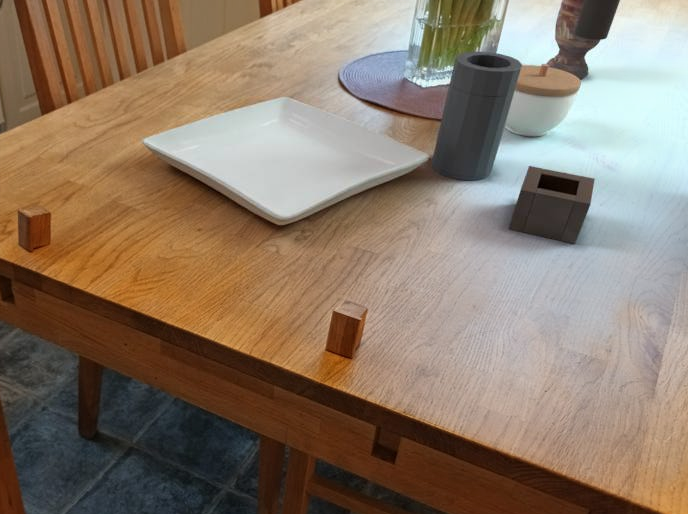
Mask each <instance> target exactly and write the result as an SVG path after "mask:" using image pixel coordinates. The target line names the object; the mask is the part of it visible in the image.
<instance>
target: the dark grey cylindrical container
mask: <svg viewBox="0 0 688 514" xmlns="http://www.w3.org/2000/svg"><path fill="white" fill-rule="evenodd" d="M522 66H523V64H522V63H521V61H520V60H518V59H516V58H515V57H512V56H510V55H506V54H502V53H497V52H489V51H467V52H463V53H459V54H457V56H456V57H455V59H454V64H453V67H452V72H451V77H450V81H449V85H448V89H447V93H446V98H445V103H444V106H443V111H442V117H441V120H440V125H439V129H438V133H437V138H436V143H435V146H434V151H433V155H432V162H431V167H432V168H433V169H434V171H435V172H437V173H438V174H439V175H443V176H445V177H447V178H450V179H455V180H461V181H480V180H484V179H486V178H489V176H490V175H491V174H492V171H493V168H494V165H495V161H496V159H497V154H498V150H499V147H500V144H501V140H502V137H503V134H504V130H505V123H506V120H507V116H508V113H509V109H510V106H511V102H512V99H513V95H514V92H515V88H516V85H517V81H518V78H519V74H520V71H521V67H522Z"/></svg>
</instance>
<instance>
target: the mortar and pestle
mask: <svg viewBox="0 0 688 514" xmlns="http://www.w3.org/2000/svg"><path fill="white" fill-rule="evenodd" d="M584 1H585V0H561V3H560V8H559V10H558V13H557V18H556V20H555V21H556V22H555V29H554V39H555V42H556V45H557V47H558V49H559V50H558V52H557V54H556V55H555V56H554V57H551V58H550V59H549V60H547V62H546V63H545V64H548V65H549V67H550V68H555V69H559V70H563V71H566V72H568V73H571V74H573V75H575V76H576V77H578V78H579V79H580V80H581V79H584V78H586V77H587V76H588V75H589V66H588V63H587V61H586V58H585V57H586V55H587V54H588V52H590V51H591V50H593V49H594V48H596V47H597V46H598V45H599V44H600V42H601V40H591V39H585V38H581V37H578V36H576V35H575V34H574V31H575V28H576V25H577V22H578V19H579V16H580V13H581V10H582V7H583V4H584Z"/></svg>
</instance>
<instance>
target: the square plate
mask: <svg viewBox="0 0 688 514" xmlns="http://www.w3.org/2000/svg"><path fill="white" fill-rule="evenodd" d="M141 143H142V145H143V146H144V147H146V148H147V149H148V151H150V153H152V154H153V155H154V156H156V157H158V158H159V159H161V160H162V161H163V162H165V163H167V164H169V165H171V166H172V167H174V168H176V169H178V170H180V171H182V172H184V173H186V174H187V175H189V176H191V177H193V178H194V179H196V180H198V181H199V182H201V183H203V184H205V185H207V186H208V187H211V188H212V189H214V190H215V191H217V192H219V193H220V194H222V195H224V196H225V197H227V198H229V199H230V200H232V201H234V202H235V203H237V204H238V205H240V206H241V207H243V208H245V209H247V210H248V211H249V212H252V213H253V214H255V215H257V216H258V217H261V218H263V219H265V220H266V221H268V222H271V223H273V224H275V225H277V226H285V225H288V224H293V223H294V222H297V221H300V220H302V219H305V218H307V217H309V216H311V215H314V214H315V213H317V212H320V211H321V210H324V209H326V208H329V207H330V206H333V205H335V204H337V203H338V202H341V201H343V200H345V199H347V198H349V197H351V196H354V195H357V194H359V193H361V192H364V191H367V190H369V189H371V188H373V187H376V186H379V185H382V184H384V183H387V182H390V181H392V180H395V179H396V178H397V179H398V178H399V177H401V176H404V175H407V174H408V173H410V172H412V171H414V170H415V169H417V168H419V167H420V166H421V165H422V164H424V163H426V162H427V161H428V160H429V158H430V154H428V153H427V152H424V151H422V150H419V149H417V148H415V147H412V146H411V145H409V144H406V143H403V142H401V141H399V140H397V139H395V138H392V137H390V136H387V135H385V134H383V133H381V132H378V131H376V130H373V129H371V128H369V127H366V126H364V125H361V124H359V123H357V122H354V121H352V120H350V119H346V118H344V117H341V116H339V115H336V114H334V113H331V112H328V111H326V110H323V109H321V108H318V107H315V106H312V105H310V104H306V103H303V102H301V101H298V100H296V99H293V98H290V97H288V96H287V97H286V96H281V97H277V98H273V99H270V100H266V101H262V102H258V103H253V104H250V105H246V106H243V107H240V108H236V109H232V110H228V111H225V112H222V113H218V114H215V115H212V116H208V117H206V118H202V119H199V120H196V121H193V122H189V123H186V124H183V125H180V126H177V127H174V128H171V129H168V130H166V131H165V130H164V131H162V132H160V133H156V134H154V135H153V134H152V135H151V136H148V137H146V138H143V139H142V140H141Z"/></svg>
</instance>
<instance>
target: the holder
mask: <svg viewBox="0 0 688 514" xmlns="http://www.w3.org/2000/svg"><path fill="white" fill-rule="evenodd" d="M595 181H596V179H595V177H594V178H593V177H589V176H584V175H578V174H572V173H567V172H562V171H558V170H553V169H546V168H542V167H538V166H532V165H529V166H528V167H527V170H526V173H525V176H524V179H523V182H522V184H521V188H520V190H519V194H518V197H517V200H516V204H515V206H514V210H513V213H512V216H511V217H510V218H511V219H510V221H509V225H508V227H507V229H508V230H512V231H516V232H520V233H524V234H529V235H534V236H539V237H543V238H546V239H547V238H548V239H552V240H556V241H561V242H564V243H570V244H574V245H575V244H577V243H576V242H577V240H578V238H579V235H580V233H581V230H582V227H583V225H584V222H585V220H586V218H587V215H588V212H589V210H590V208H591V206H592V205H591V204H592V199H593V194H594V193H593V192H594V187H595Z"/></svg>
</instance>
